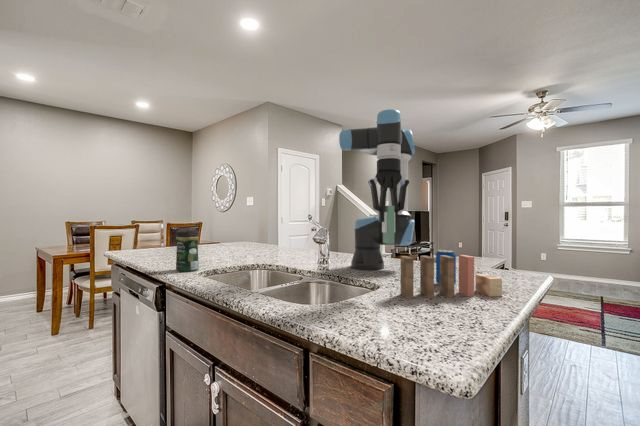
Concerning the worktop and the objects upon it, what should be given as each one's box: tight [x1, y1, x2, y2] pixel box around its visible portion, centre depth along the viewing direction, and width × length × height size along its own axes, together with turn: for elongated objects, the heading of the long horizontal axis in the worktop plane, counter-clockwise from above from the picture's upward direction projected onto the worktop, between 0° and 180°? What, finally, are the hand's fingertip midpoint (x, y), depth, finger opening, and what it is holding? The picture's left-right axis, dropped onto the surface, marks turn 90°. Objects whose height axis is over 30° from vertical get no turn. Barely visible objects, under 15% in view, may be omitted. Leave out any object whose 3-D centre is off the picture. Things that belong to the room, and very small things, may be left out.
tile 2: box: [400, 255, 414, 300], centre depth 95 cm, size 5×2×12 cm, turn 7°
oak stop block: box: [475, 273, 503, 297], centre depth 99 cm, size 7×4×5 cm, turn 7°
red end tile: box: [458, 254, 475, 297], centre depth 98 cm, size 5×2×12 cm, turn 7°
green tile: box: [383, 205, 394, 244], centre depth 100 cm, size 5×2×12 cm, turn 8°
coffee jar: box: [175, 227, 200, 273], centre depth 138 cm, size 10×8×19 cm
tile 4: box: [439, 255, 455, 298], centre depth 97 cm, size 5×2×12 cm, turn 7°
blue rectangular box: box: [435, 249, 457, 286], centre depth 111 cm, size 6×6×12 cm
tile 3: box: [419, 255, 435, 299], centre depth 96 cm, size 5×2×12 cm, turn 7°
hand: (388, 232), depth 100 cm, fingers closed on green tile, 2 cm apart
